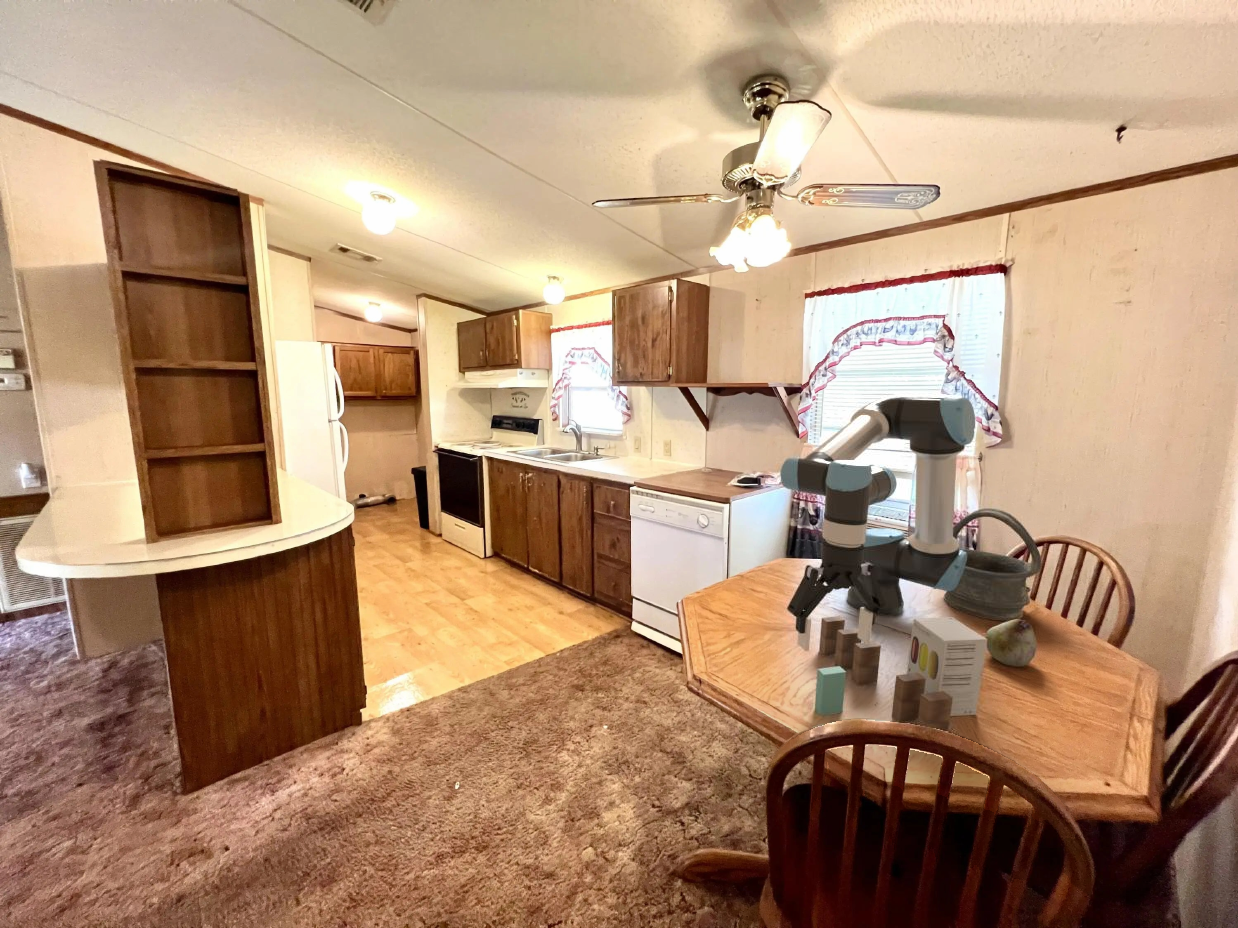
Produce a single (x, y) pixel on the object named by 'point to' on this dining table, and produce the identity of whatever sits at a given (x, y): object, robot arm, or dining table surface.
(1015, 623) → the fruit
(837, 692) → the teal domino
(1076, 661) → the dining table surface
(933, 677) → the supplement box
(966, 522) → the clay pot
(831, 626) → the domino
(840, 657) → the domino
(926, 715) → the domino
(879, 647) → the domino
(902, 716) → the domino
